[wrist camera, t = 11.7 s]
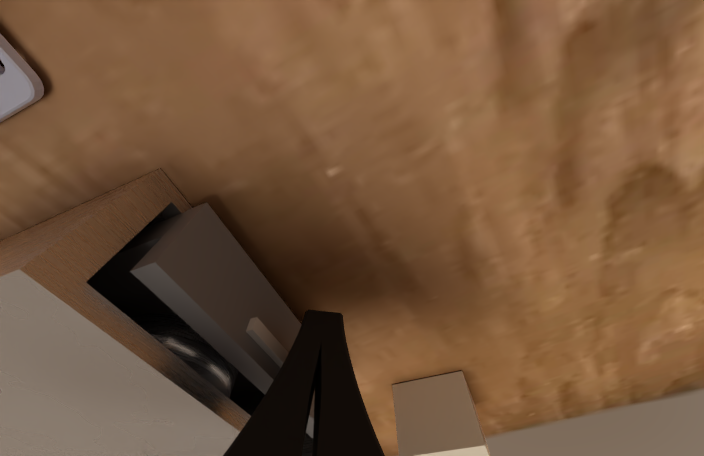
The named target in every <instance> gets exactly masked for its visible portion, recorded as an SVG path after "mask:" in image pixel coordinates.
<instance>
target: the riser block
mask: <svg viewBox="0 0 704 456" xmlns="http://www.w3.org/2000/svg"><path fill="white" fill-rule="evenodd" d="M392 388H393V398H394V408H395V418H396V429H397V439H398V449H399V456H490V452H489V449H488V446H487V443H486V439H485V436H484V433H483V430H482V426H481V423H480V420H479V417H478V414H477V410H476V407H475V404H474V402H473V399H472V396H471V393H470V391H469V388H468V385H467V383H466V380H465V377H464V374H463V372H462V371H459V372H454V373H449V374H444V375H439V376H434V377H429V378H424V379H419V380H414V381H409V382H404V383H400V384H395V385H392Z"/></svg>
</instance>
